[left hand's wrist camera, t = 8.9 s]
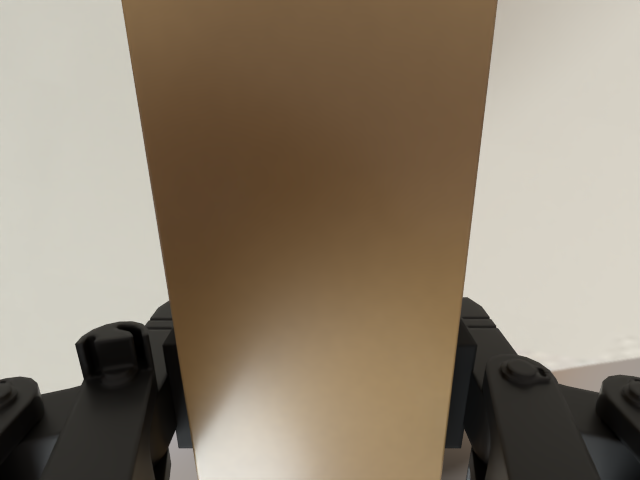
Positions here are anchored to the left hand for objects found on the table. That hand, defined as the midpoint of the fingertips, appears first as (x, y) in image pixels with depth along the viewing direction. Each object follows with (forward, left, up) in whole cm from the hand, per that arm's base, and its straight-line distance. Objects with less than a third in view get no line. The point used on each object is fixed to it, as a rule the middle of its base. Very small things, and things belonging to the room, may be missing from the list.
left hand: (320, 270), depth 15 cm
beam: (-11, +19, -1) cm, 23 cm away
